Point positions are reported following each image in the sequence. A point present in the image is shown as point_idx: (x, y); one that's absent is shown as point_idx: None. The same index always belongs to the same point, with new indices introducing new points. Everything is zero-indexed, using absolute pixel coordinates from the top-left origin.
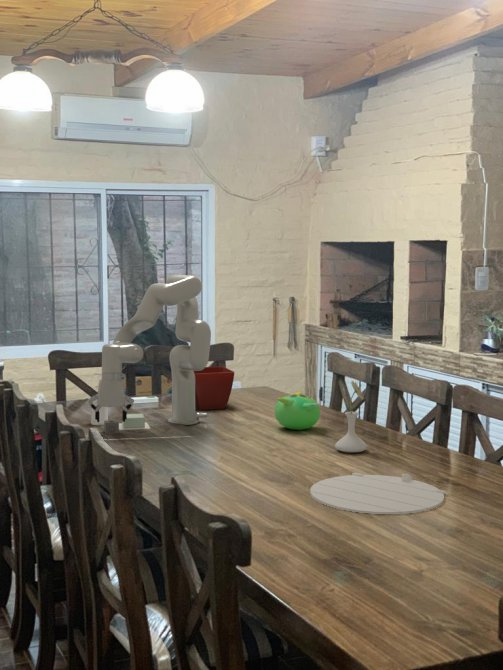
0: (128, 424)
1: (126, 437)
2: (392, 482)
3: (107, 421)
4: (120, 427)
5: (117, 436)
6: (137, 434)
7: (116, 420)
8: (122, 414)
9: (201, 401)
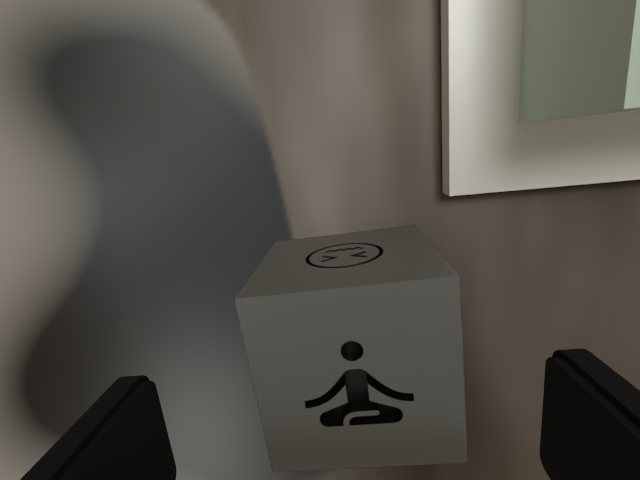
0: (617, 111)
1: (486, 437)
2: None
3: (293, 372)
4: (475, 51)
5: None
6: (619, 335)
7: (443, 317)
8: (633, 455)
9: None
